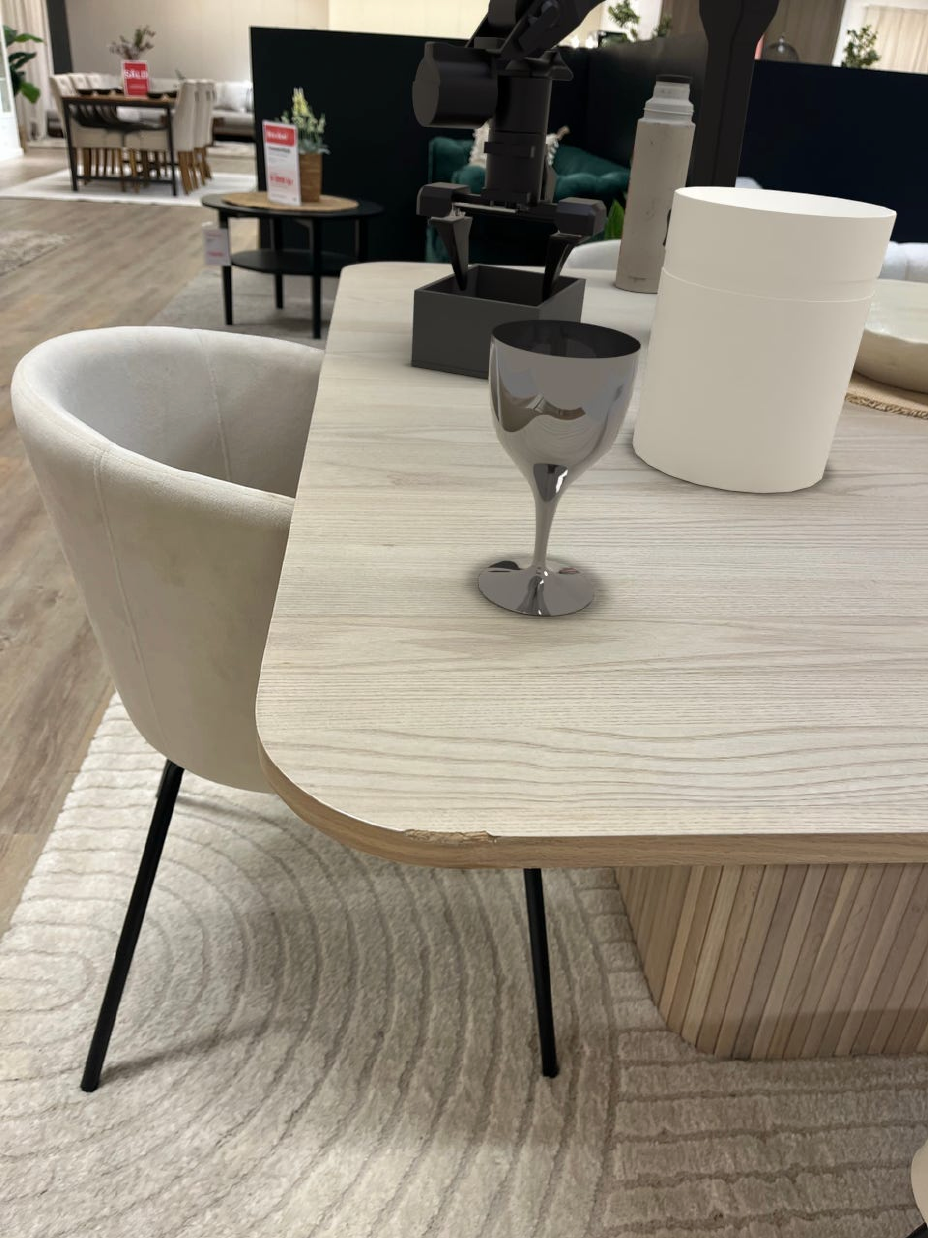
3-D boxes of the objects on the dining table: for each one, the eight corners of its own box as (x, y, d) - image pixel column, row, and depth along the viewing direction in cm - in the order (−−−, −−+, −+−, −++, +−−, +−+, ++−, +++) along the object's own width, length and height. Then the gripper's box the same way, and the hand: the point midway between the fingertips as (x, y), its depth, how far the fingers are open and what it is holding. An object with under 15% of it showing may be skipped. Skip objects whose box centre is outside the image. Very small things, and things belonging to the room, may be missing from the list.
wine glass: (466, 555, 59) (483, 316, 52) (587, 557, 60) (622, 322, 53) (478, 618, 53) (500, 354, 45) (614, 620, 54) (659, 361, 46)
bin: (471, 329, 111) (475, 263, 107) (577, 346, 107) (586, 278, 103) (411, 365, 96) (413, 289, 92) (532, 386, 92) (540, 308, 89)
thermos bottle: (605, 286, 140) (634, 71, 125) (629, 279, 146) (660, 73, 131) (653, 295, 136) (689, 75, 122) (675, 288, 142) (712, 77, 127)
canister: (800, 510, 70) (879, 224, 59) (603, 460, 76) (644, 194, 66) (840, 451, 82) (910, 206, 72) (667, 412, 88) (710, 182, 78)
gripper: (628, 137, 94) (605, 295, 102) (458, 121, 99) (449, 272, 107) (603, 141, 85) (581, 314, 93) (417, 123, 90) (411, 289, 98)
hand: (503, 296), depth 98 cm, fingers open, 9 cm apart
